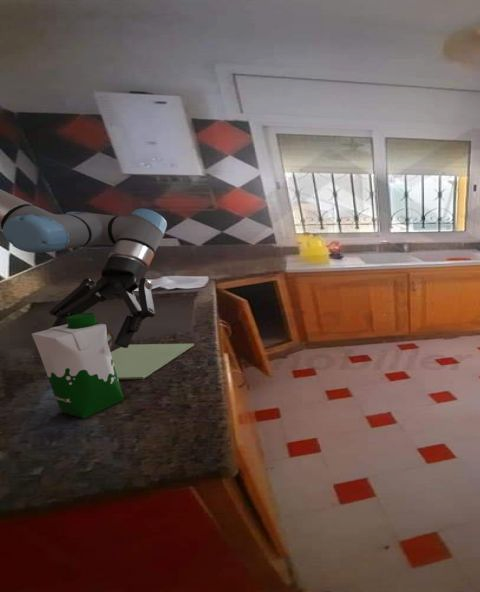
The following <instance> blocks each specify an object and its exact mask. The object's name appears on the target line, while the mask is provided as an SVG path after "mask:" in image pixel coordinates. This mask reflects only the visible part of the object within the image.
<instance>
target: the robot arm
mask: <svg viewBox="0 0 480 592" xmlns="http://www.w3.org/2000/svg"><path fill="white" fill-rule="evenodd" d="M167 227H168V223H167V220H166V219H165V218H164V217H163V216H162V215H161V214H159V213H158V212H156V211H153V210H152V209H151V210H150V209H148V208H137V209H134V210H133V211H132V212H131V213H130V214H129V216H125V215H121V216H120V215H110V214H101V213H94V212H90V211H67V212H65V213H64V214H61V213H60V214H56V213H52V212H51V211H47V210H45V209H43V208H40V207H39V206H36V205H34V204H32V203H30V202H28V201H26V200H24V199H22V198H20V197H17V196H15V195H14V194H12V193H10V192H7V191H5V190H3V189H1V188H0V231H1V232H2V234H3V236H4V238H5V240H6V241H7V242H9V243H10V244H11V245H12V247H14V248H16V249H17V250H19V251H23V252H25V253H32V254H33V253H34V254H37V253H38V254H39V253H53V252H57V251H63V250H64V251H65V250H69V249H70V250H71V249H75V248H83V247H90V246H97V245H106V246H112V249H111V250H110V253H109V254H108V258H106V260H105V261H104V263H103V265H102V266H101V269H100V272H101V277H100V278H98V280H92V279H90V278H89V277H86V278H83V279H82V281H81V283H80V284H79V285H78V286H77V287H76V288H74V290H73V291H71V292H70V293H69V294H68V295H67V296H65V297H64V298H63V299H62V300H61V301H59V302H58V303H57V304H56V305H55V306H53V307H52V308H51V309H50V310H49V311H48V314H50V315H52V316H54V317H56V319H55V321H54V322H53V324H52V326H51V328H53V327H58V326H62V325H66V324H68V323H67V320H66V318H67V317H68V316H71V315H75V314H81V313H85V312H87V310H89V309H90V308H92V307H94V306H95V305H97V304H98V303H100V302H101V303H102V302H104V301H106V300H123V302H124V303H125V304H126V307H127V308H128V310H129V314H130V315H126V316H125V319H124V321H123V323H122V325H121V327H120V329H119V332H118V334H117V335H116V338H115V339H114V344H113V345H116V346H118V347H123V348H128V346H129V345H131V342H132V339H133V336H134V335H135V333H137V332H138V331H139V329H140V327H141V325H142V323H143V321H144V320H145V319H146V318H154V317H155V316H156V311H155V305H154V299H153V292H152V289H153V286H154V284H153V283H152V282H151V281H150V280H148V279H147V278H146V274H147V271H148V270H147V269H149V267H150V265H151V263H152V260H153V258H154V257H155V254H156V251H157V249H158V247H159V245H160V243H161V241H162V239H163V238H164V236H165V232H166V230H167ZM135 290H137V291H138V296H139V302H138V300H137V297H136V295H135V293H134V291H135ZM139 303H140V304H139Z"/></svg>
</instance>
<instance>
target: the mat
mask: <svg viewBox="0 0 480 592" xmlns="http://www.w3.org/2000/svg"><path fill="white" fill-rule="evenodd" d="M194 346H195V343H148V344H147V343H144V344H143V343H142V344H135V343H134V344H129V346H128V348H123V347H121V346H119V347H118V348H116V349H114V350H112V351H110V353H111V356H112V360H113V363H114V367H115V370H116V374H117V377H118V380H145V378H147V377H149V376H150V375H152V374H153V373H154V372H156V371H158V370H159V369H161V368H162V367H164V366H165V365H168V364H169V362H172V361H173V360H174V359H176V358H177V357H179V356H180V355H182V354H183V353H185V352H186V351H188V350H189V349H191V348H192V347H194Z"/></svg>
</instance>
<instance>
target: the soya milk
mask: <svg viewBox="0 0 480 592" xmlns="http://www.w3.org/2000/svg"><path fill="white" fill-rule="evenodd" d="M66 320H67V323H68V324H66V325H62V326H58V327H53V328H52V327H50V328H48V329H44V330H40V331H37V332H36V331H35V332H33V333H31V336H32V339H33V341H34V343H35V346H36V349H37V351H38V353H39V356H40V359H41V361H42V364H43V368H44V370H45V372H46V376H47V378H48V381H49V384H50V387H51V389H52V393H53V395H54V397H55V400H56V402H57V404H58V406H59V408H60V410H61V412H62V413H64V414H67V415H70V416H74V417H77V418H80V419H83V420H85V419H86V418H88V417H90V416H92V415H94V414H97V413H99V412H100V411H103V410H105V409H107V408H109V407H111V406H113V405H115V404H117V403H120V402H122V401H123V400H125V398H124V394H123V391H122V387H121V384H120V381H119V379H118V377H117V374H116V370H115V367H114V363H113V360H112V356H111V353H110V352H111V349H109V346H108V342H107V331H106V329H107V324H105V323H102V322H99V321H97V319H96V315H95V313H94V312H83V313H81V314H75V315H71V316H68V317H67V318H66Z"/></svg>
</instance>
